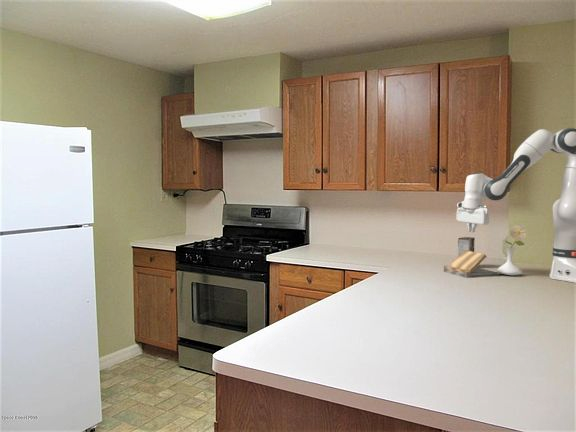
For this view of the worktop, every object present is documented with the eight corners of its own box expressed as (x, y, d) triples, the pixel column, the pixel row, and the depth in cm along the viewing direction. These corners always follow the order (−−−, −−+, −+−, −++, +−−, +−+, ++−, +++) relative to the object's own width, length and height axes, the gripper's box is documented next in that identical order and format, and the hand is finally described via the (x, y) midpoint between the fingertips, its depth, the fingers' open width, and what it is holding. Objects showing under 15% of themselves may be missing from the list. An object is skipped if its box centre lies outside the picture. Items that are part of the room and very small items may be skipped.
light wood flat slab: (486, 256, 233) (485, 254, 233) (470, 272, 231) (469, 270, 230) (465, 252, 247) (464, 250, 247) (450, 267, 245) (449, 265, 244)
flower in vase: (495, 275, 235) (497, 225, 233) (497, 271, 245) (499, 223, 243) (525, 278, 228) (527, 226, 227) (525, 274, 239) (527, 225, 237)
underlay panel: (497, 275, 235) (497, 269, 235) (466, 277, 229) (466, 271, 228) (473, 269, 251) (473, 264, 251) (443, 271, 245) (443, 265, 244)
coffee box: (462, 265, 266) (463, 236, 265) (474, 266, 262) (475, 237, 261) (457, 267, 259) (458, 238, 258) (469, 268, 255) (470, 238, 254)
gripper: (493, 206, 230) (491, 234, 231) (464, 203, 250) (463, 229, 251) (482, 205, 228) (481, 234, 229) (454, 203, 248) (453, 229, 248)
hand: (471, 231), depth 240 cm, fingers closed
